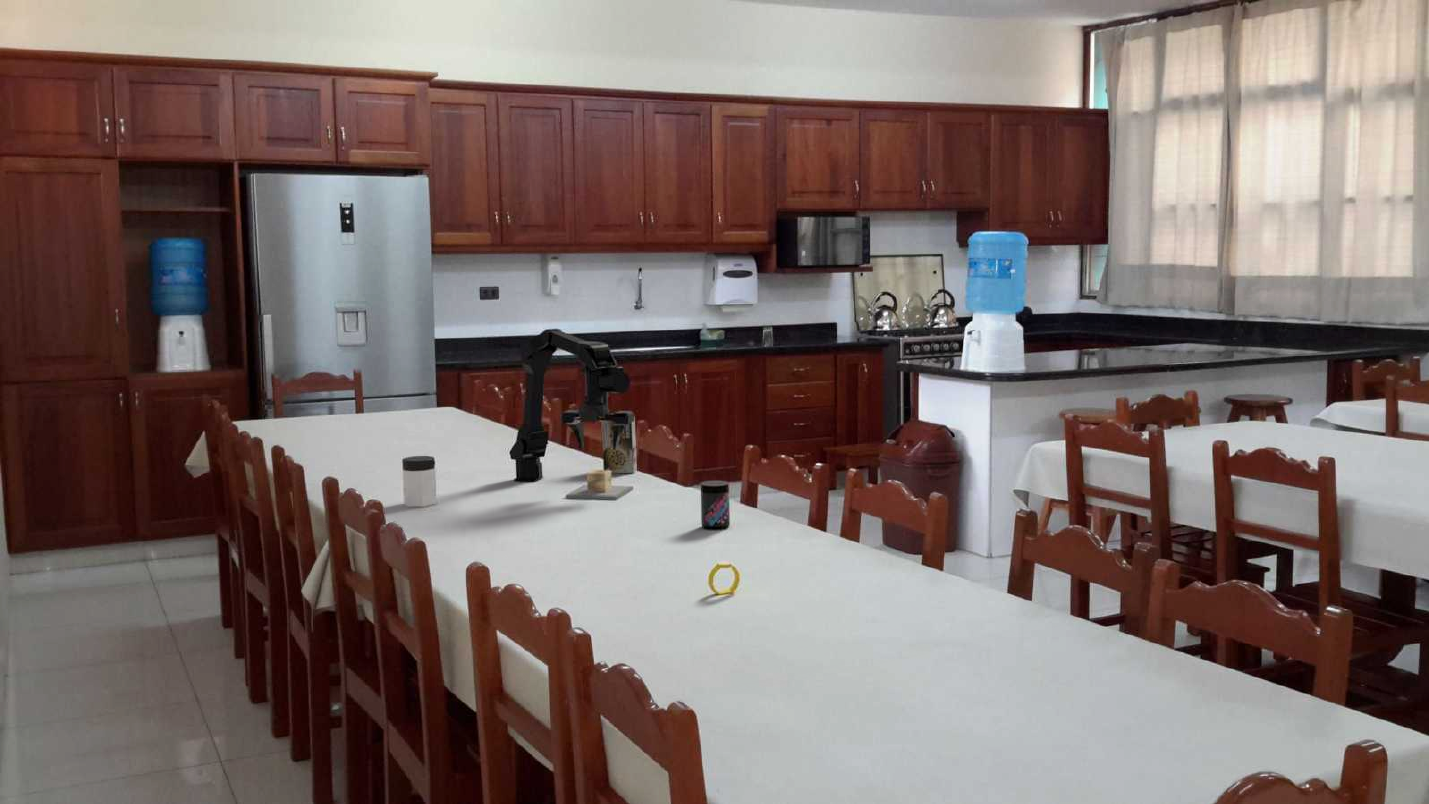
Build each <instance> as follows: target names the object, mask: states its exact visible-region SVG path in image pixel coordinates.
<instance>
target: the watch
mask: <svg viewBox="0 0 1429 804" xmlns="http://www.w3.org/2000/svg"><path fill="white" fill-rule="evenodd" d="M729 568H731V569H732V571H733V573H734V581H733V584H732V585H731V586H730V588H729V589H727V590H719V591H717V589H716V588H715V585H714V577H715V575H716V574H717V572H718V571H719V570H720V569H729ZM740 580H741V579H740V573H739V571H738V569H737V567H736V566H734V565H732V562H731V561H724V560H723V561H718V562H716V566H714V567H713V568H712V569H711V571H710V572H709V574H708V586H709V588H710V590H711V591H712V592H713V593H715V594H717V595H718V596H721V595H726V594H733V593H734V592H735V591H736V590H737V589H738V586H739V583H740Z"/></svg>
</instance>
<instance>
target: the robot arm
mask: <svg viewBox="0 0 1429 804" xmlns="http://www.w3.org/2000/svg"><path fill="white" fill-rule="evenodd" d="M559 349H560V350H562V351H564V352H566V353H569V354H571V355H574V356H575V357H576V358H577V361H578V362H580V363H581V364H582V365H584V366H583V367H582V368H581V369H580V370H579V373H580V374H584V378H585V379H584V381H585V382H584V383H585V395H584V398H583V403H582V404H581V406H579V409H578V410H577V409H576V410H575V409H573V410H572V409H569V410H566V411H563V412H562V413H561V415H560V423H561V424H565V426H566V427H569V428H570V429H571V430H572V432H573V433H574V436H575V438H576V440H577V444H578V446H579V448H580V450H584V448H585V447H584V444H585V442H584V441H585V439H584V438H585V437H584V436H585V435H584V423H585V422H586V423H597V422H598V421H600V422H601V421H614V422H615V423H616V424H615V425H613V430H614V437H613V448H614V450H616V449H617V446H618V443H619V440H620V437H621V435H622V432H623V430H624V428H625V426H627V425H629V424H630V423H631V422H633V421H634V416H635V413H634V412H633V411H632V410H619V411H616V412H614V413H610V408H609V402H608V401H609V400H608V398H610V393H614V394H624V393H626V392H627V391H628V390H629V388H630V384H631V379H630V378H629V375H628V374H627V372H625V371H624V367H623V366H619V365H618V362H617V360H616V359H615V357H614V355H613V353H612V351H611V349H610V346H609V345H608V343H606V342H602V341H588V340H584V339H581V338H579V337H577V336H574V335H572V334H569V333H566V332H564V331H562V330H561V329H560V328H548V329H547V328H546V329H544V330H543V331H541V333H539V334H538V335H536V336H535V337H532V338H531V339H529V340H528V341H526V342H525V343H524V344H522V345H521V349H520V357H521V358H520V359H521V365H522V367H523V368H524V370H525V372H526V375H525V378H526V379H525V380H526V381H525V391H524V392H525V395H524V412H523V422H522V425H521V426H520V428H519V429H518V431H517V434H516V439H515V442H514V444H513V445H512V447H511V448H510V450H509V453H508V454H509V456H510V460H514V461H515V478H513V481H514V482H537V481H539V480H541V479H543V478H544V475H543V463H542V462H541V458H544V457H545V455H546V450H547V446H548V445H549V430H546V429H545V427H544V426H543V424H542V422H543V421H542V420H543V404H544V391H545V390H544V387H545V376H546V375H545V373H546V372H547V370H548V368H549V367H550V366H551V364H552V359H553V355H554V354H555V353H556V352H557V351H558V350H559Z"/></svg>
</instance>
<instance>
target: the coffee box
mask: <svg viewBox="0 0 1429 804" xmlns="http://www.w3.org/2000/svg"><path fill="white" fill-rule="evenodd" d="M600 422H601V437H602V460H603V470H611V474H634V473H635V472H637V470H638V467H637V466H638V465H637V441H636V440H637V438H636V436H637V435H636V415H634V421H633V422H631V423H630V424H629V425H627V426H625V428H624V430H623V432H622V435H621V437H620V440H619V443H618V446H617V449H616V450H614V448H613V437H614V430H613V425H615V424H616V423H615V422H614V421H600Z"/></svg>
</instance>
